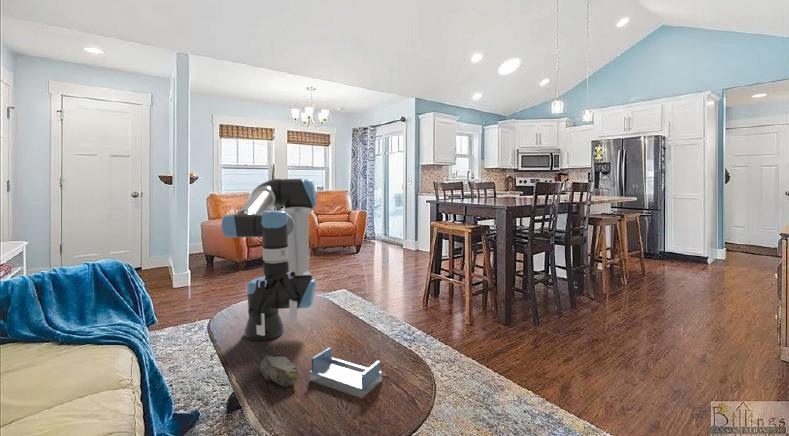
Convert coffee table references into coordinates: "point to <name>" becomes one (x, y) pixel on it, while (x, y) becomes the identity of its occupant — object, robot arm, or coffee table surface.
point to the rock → (279, 370)
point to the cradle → (344, 374)
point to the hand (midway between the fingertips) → (278, 327)
